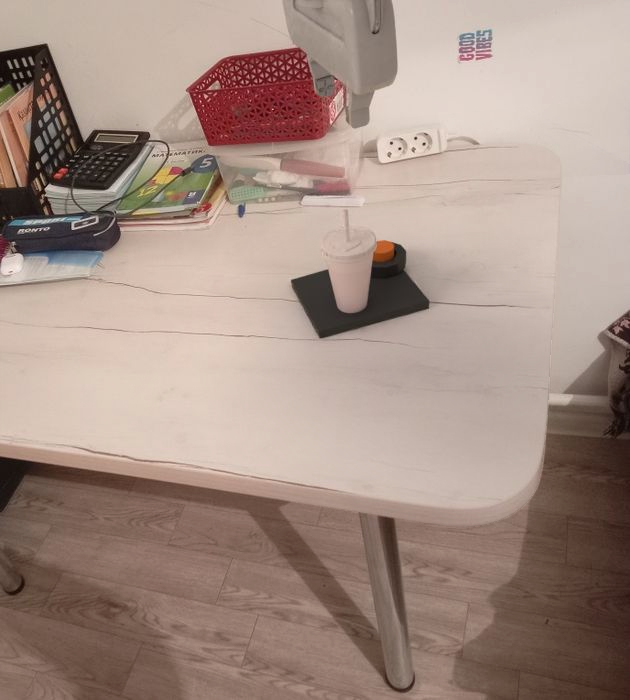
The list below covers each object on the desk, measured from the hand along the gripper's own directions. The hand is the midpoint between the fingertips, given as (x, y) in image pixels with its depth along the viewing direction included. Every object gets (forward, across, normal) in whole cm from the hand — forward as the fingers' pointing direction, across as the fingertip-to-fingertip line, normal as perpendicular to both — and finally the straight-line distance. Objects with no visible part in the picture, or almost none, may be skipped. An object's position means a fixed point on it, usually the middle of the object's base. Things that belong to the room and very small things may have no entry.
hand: (340, 108), depth 63 cm
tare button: (+24, +6, -6) cm, 26 cm away
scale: (+27, +3, -1) cm, 27 cm away
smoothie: (+26, 0, 0) cm, 26 cm away
